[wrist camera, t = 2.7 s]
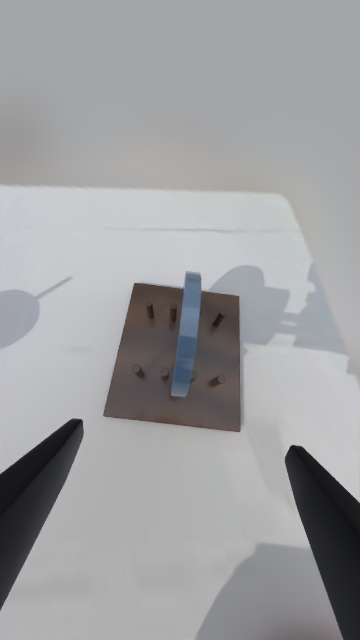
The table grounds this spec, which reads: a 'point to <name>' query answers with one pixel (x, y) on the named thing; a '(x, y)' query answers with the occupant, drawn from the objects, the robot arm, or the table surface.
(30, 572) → the table surface
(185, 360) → the plate
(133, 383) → the rack
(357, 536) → the robot arm
